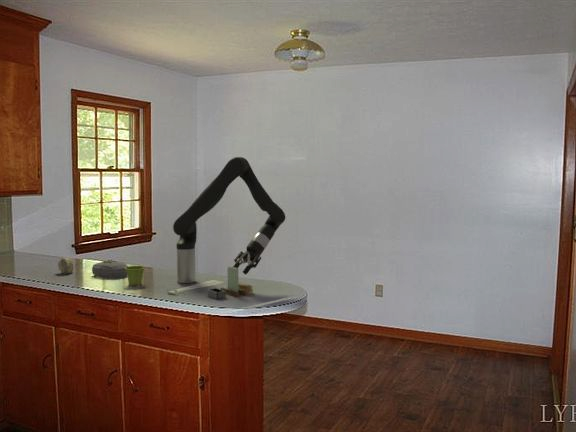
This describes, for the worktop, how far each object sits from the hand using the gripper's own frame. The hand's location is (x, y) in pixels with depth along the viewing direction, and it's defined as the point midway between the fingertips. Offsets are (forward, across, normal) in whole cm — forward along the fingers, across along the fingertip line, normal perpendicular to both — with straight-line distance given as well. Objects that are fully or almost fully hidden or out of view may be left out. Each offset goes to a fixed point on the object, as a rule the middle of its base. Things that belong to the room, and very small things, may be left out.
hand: (238, 272), depth 236 cm
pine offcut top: (+4, +1, +7) cm, 8 cm away
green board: (+9, 0, +4) cm, 10 cm away
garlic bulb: (+36, -106, -21) cm, 114 cm away
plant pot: (+26, -52, -10) cm, 59 cm away
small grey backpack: (+25, -82, -10) cm, 86 cm away
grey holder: (+16, 0, -1) cm, 16 cm away
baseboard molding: (+13, -22, +3) cm, 26 cm away
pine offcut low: (+6, 0, +8) cm, 10 cm away
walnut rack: (+8, 0, +7) cm, 11 cm away
